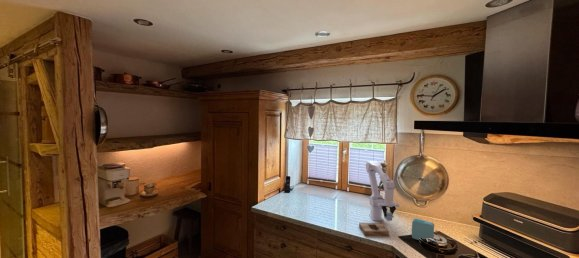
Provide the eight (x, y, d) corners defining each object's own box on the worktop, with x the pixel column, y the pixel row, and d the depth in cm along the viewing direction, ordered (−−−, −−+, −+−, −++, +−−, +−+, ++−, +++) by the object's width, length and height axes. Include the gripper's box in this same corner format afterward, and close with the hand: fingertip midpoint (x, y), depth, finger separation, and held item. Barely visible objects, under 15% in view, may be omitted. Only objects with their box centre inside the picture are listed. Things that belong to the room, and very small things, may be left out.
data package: (433, 241, 147) (434, 222, 147) (432, 244, 144) (433, 225, 143) (412, 235, 154) (413, 217, 153) (411, 238, 150) (412, 220, 150)
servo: (382, 216, 167) (383, 208, 167) (387, 216, 167) (388, 208, 167) (388, 221, 158) (388, 213, 158) (393, 221, 159) (393, 213, 158)
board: (359, 226, 164) (359, 222, 164) (381, 227, 165) (381, 223, 164) (364, 235, 152) (365, 231, 152) (388, 235, 153) (389, 231, 152)
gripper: (381, 199, 158) (380, 219, 159) (401, 199, 158) (400, 219, 159) (376, 196, 165) (376, 214, 166) (396, 196, 165) (395, 214, 166)
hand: (388, 216), depth 163 cm, fingers closed on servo, 4 cm apart
